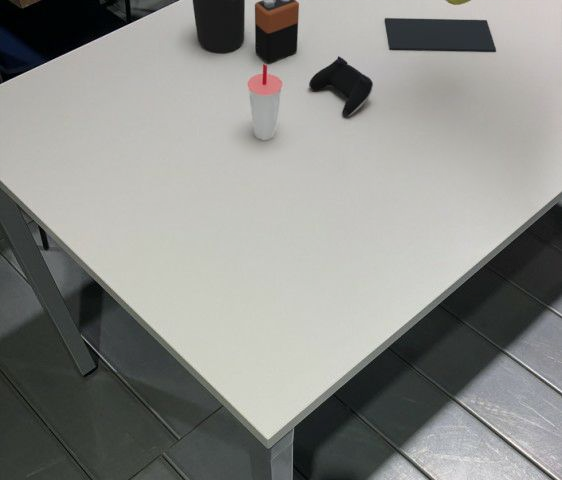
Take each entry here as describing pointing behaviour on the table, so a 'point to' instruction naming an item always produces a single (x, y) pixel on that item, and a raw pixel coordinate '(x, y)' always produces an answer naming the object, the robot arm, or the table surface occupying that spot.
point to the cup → (264, 103)
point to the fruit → (457, 2)
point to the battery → (276, 28)
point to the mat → (439, 35)
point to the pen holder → (220, 24)
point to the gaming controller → (344, 84)
